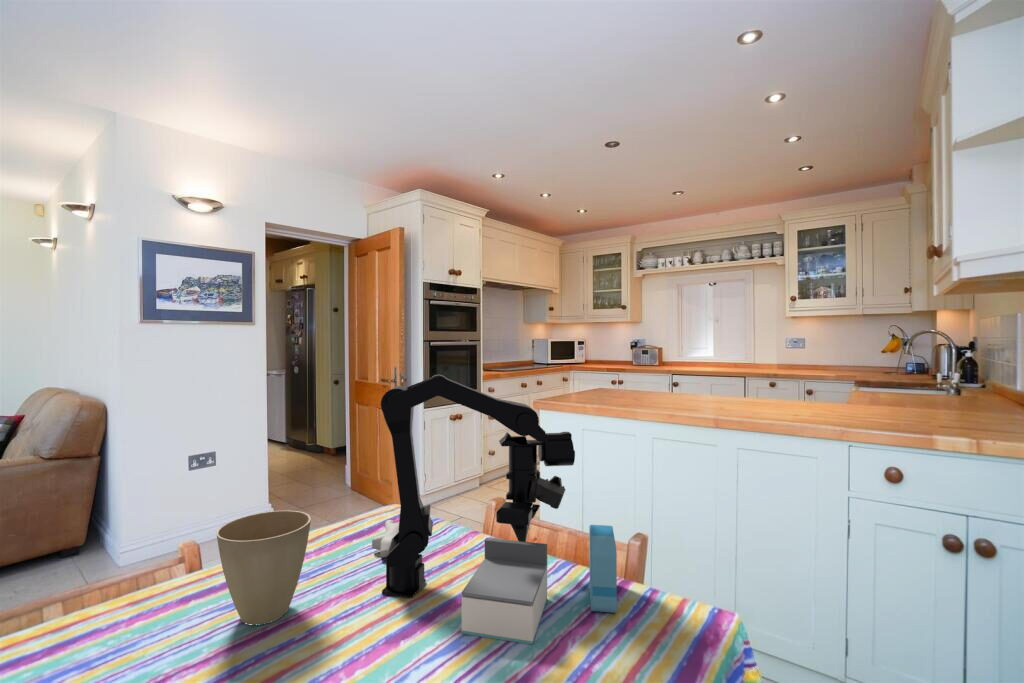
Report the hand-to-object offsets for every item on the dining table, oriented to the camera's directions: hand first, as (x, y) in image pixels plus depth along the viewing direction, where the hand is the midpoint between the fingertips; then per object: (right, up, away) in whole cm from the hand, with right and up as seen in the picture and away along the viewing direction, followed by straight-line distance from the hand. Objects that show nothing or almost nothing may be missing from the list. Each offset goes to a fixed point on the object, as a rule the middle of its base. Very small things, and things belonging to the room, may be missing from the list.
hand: (522, 543), depth 96 cm
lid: (-3, -1, -12) cm, 13 cm away
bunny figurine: (-30, -8, +16) cm, 35 cm away
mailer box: (-3, -7, -12) cm, 15 cm away
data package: (+15, -8, -6) cm, 18 cm away
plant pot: (-46, -8, -12) cm, 48 cm away
